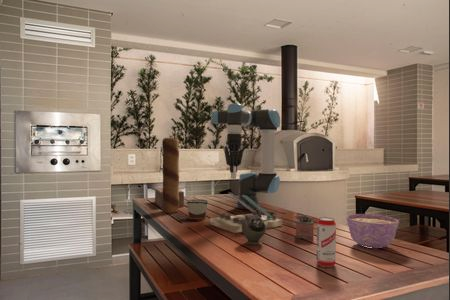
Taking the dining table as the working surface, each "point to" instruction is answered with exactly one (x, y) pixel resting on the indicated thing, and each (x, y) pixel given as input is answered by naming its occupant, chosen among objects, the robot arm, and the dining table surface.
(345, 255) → the dining table surface
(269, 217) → the teal strap
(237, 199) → the charcoal strap
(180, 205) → the tissue box cover
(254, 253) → the dining table surface
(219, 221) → the mount
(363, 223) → the bowl of food
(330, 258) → the beer can
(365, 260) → the dining table surface
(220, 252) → the dining table surface
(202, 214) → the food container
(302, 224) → the potted succulent
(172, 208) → the wafer roll
